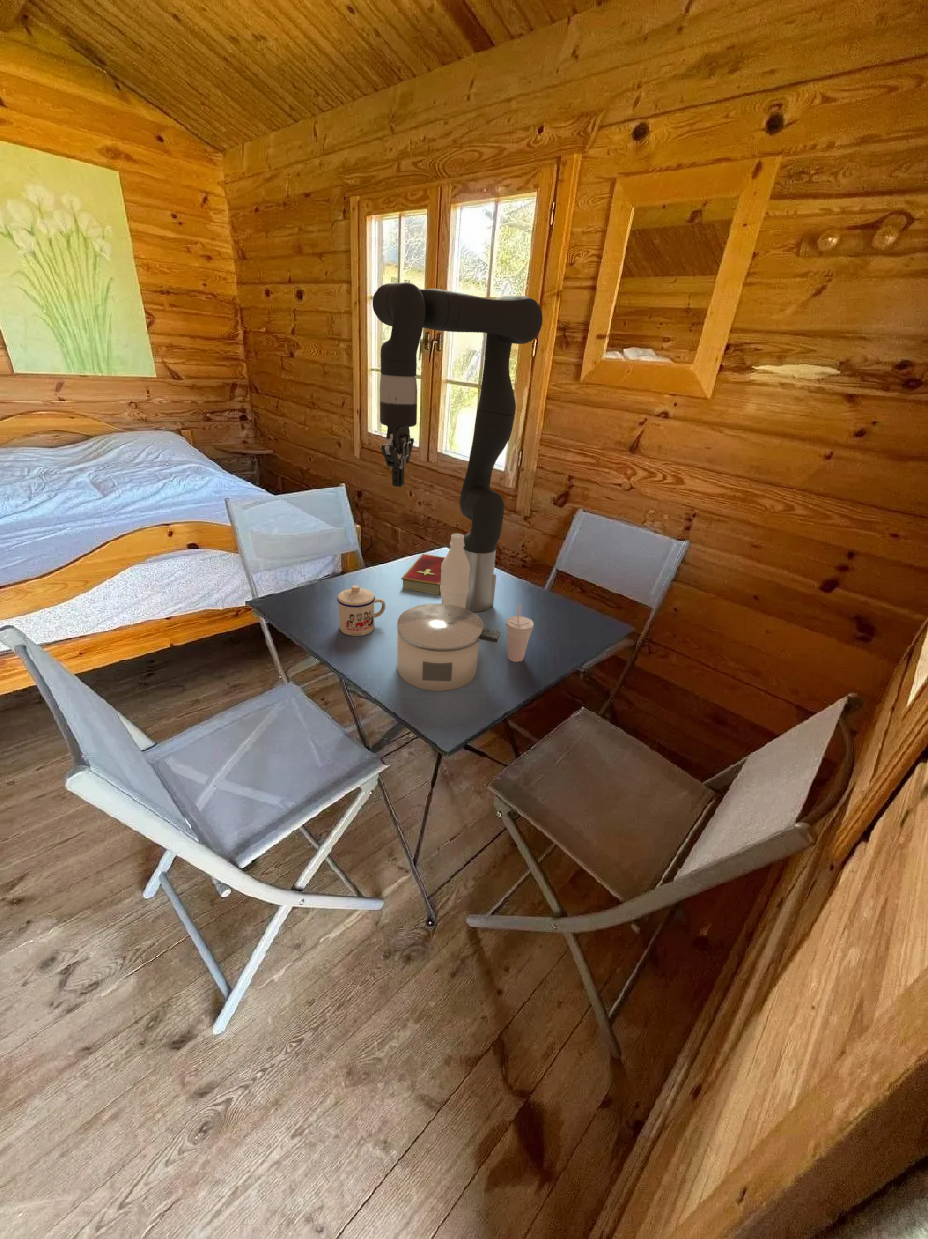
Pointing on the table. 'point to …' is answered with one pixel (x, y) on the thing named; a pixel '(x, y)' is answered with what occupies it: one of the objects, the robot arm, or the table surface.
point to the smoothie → (518, 636)
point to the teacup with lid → (357, 611)
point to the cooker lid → (442, 628)
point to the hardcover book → (424, 575)
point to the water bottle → (455, 574)
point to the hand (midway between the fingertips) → (398, 485)
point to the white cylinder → (436, 666)
